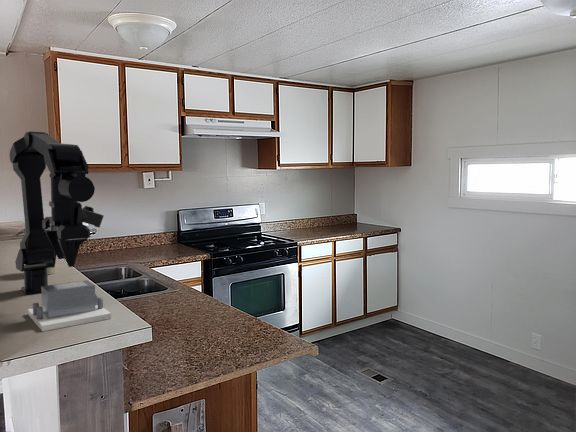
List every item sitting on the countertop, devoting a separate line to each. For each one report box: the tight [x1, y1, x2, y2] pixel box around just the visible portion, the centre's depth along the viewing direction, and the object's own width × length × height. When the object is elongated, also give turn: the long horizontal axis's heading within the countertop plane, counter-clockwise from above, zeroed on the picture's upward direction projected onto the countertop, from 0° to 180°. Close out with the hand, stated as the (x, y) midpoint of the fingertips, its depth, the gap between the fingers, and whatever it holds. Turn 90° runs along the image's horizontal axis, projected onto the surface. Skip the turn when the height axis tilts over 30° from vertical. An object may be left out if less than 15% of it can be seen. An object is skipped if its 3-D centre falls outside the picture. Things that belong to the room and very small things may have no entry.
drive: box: [41, 280, 96, 319], centre depth 109 cm, size 6×10×6 cm, turn 129°
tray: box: [27, 293, 112, 332], centre depth 109 cm, size 14×14×4 cm
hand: (65, 262), depth 114 cm, fingers open, 9 cm apart
